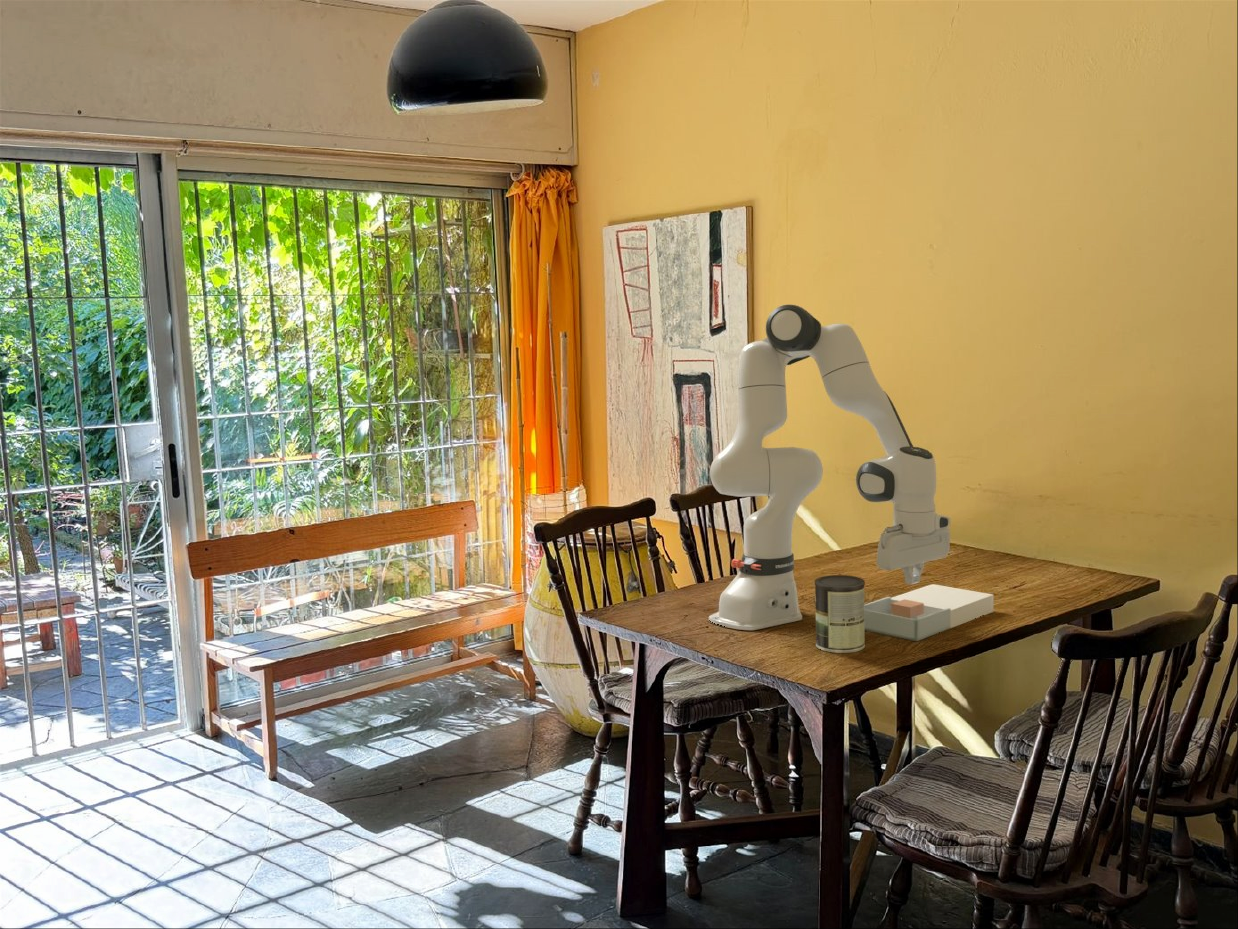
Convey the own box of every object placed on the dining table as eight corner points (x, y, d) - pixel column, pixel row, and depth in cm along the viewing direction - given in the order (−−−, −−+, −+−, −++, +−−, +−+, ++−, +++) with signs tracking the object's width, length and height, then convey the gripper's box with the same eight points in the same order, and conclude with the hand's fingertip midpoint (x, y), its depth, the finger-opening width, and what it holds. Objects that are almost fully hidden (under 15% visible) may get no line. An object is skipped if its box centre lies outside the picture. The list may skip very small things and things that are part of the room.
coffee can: (806, 648, 237) (805, 582, 235) (830, 636, 245) (829, 572, 243) (850, 656, 231) (849, 588, 229) (874, 643, 239) (873, 578, 237)
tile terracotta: (910, 618, 246) (910, 607, 246) (891, 614, 250) (891, 603, 250) (923, 613, 250) (923, 603, 249) (904, 609, 253) (904, 599, 253)
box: (916, 641, 239) (916, 620, 239) (854, 627, 251) (854, 608, 250) (950, 628, 248) (950, 608, 247) (888, 615, 260) (888, 596, 259)
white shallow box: (950, 628, 248) (950, 610, 247) (888, 615, 260) (888, 598, 259) (993, 611, 260) (993, 594, 259) (932, 600, 272) (932, 584, 271)
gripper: (893, 531, 238) (891, 594, 241) (955, 517, 250) (953, 578, 252) (870, 526, 244) (869, 588, 246) (932, 513, 255) (931, 572, 257)
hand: (912, 583), depth 249 cm, fingers closed
